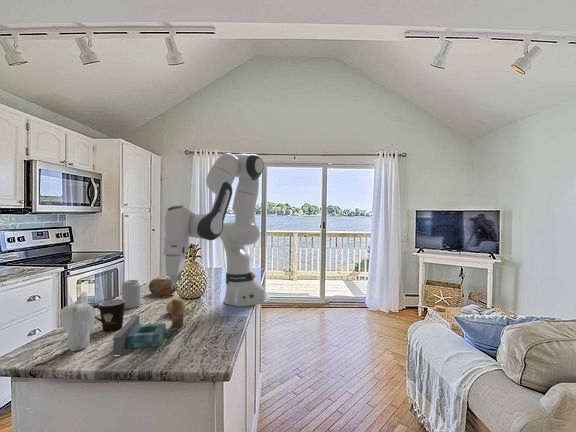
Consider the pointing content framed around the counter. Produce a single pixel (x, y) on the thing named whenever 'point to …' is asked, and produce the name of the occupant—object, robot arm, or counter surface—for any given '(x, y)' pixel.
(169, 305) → the onion
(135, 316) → the wall
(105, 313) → the coffee mug
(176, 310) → the dowel
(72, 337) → the shell sculpture
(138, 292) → the can
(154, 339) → the block
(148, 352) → the counter surface
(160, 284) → the tin
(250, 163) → the robot arm
